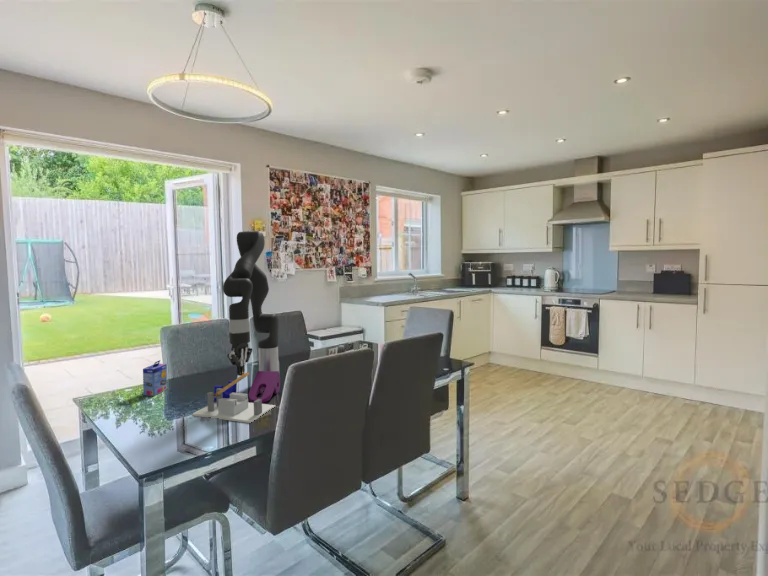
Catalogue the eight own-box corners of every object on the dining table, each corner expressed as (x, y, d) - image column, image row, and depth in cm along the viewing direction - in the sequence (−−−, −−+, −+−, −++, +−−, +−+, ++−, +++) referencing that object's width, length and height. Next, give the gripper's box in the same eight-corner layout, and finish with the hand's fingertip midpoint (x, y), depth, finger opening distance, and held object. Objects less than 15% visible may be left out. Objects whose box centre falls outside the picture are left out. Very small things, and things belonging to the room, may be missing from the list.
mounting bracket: (271, 415, 179) (281, 385, 195) (268, 400, 175) (278, 371, 190) (249, 414, 179) (260, 385, 195) (245, 400, 175) (257, 371, 191)
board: (221, 401, 179) (220, 382, 178) (275, 407, 171) (275, 387, 171) (192, 415, 163) (191, 395, 162) (250, 423, 155) (250, 401, 155)
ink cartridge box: (154, 396, 185) (153, 363, 184) (142, 396, 186) (141, 363, 185) (168, 389, 195) (166, 358, 194) (156, 389, 196) (155, 358, 195)
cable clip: (227, 393, 188) (227, 380, 188) (236, 394, 187) (236, 380, 188) (210, 400, 177) (211, 386, 177) (220, 401, 176) (220, 386, 176)
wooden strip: (211, 399, 166) (210, 396, 166) (217, 396, 169) (215, 393, 169) (245, 376, 161) (243, 373, 161) (250, 374, 164) (248, 371, 164)
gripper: (241, 327, 169) (243, 370, 170) (219, 332, 157) (221, 379, 158) (258, 328, 167) (259, 371, 168) (237, 333, 155) (238, 380, 156)
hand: (240, 375), depth 163 cm, fingers closed
